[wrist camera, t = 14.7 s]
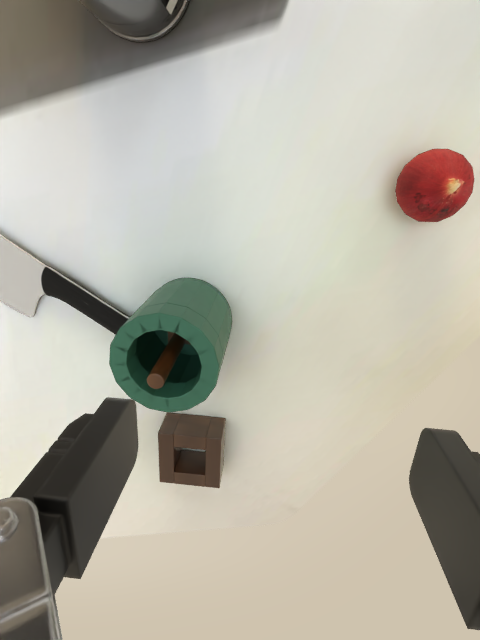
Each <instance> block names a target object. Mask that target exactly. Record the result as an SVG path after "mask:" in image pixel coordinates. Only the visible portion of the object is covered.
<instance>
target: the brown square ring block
mask: <svg viewBox="0 0 480 640" xmlns="http://www.w3.org/2000/svg"><path fill="white" fill-rule="evenodd" d="M225 421H226V419H225V418H218V417H208V416H198V415H187V414H176V413H167V414H166V416H165V419H164V421H163V423H162V425H161V428H160V430H159V432H158V444H159V472H160V482H166V483H175V484H185V485H194V486H203V487H214V488H220V482H221V476H222V471H223V465H224V443H225ZM181 448H191V449H201V450H206V452H199V451H189V450H181Z"/></svg>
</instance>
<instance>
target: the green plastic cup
mask: <svg viewBox="0 0 480 640" xmlns="http://www.w3.org/2000/svg"><path fill="white" fill-rule="evenodd" d="M231 325H232V316H231V310H230V307H229V305H228V303H227V301H226V299H225V298H224V296H223V295H222V294H221V293H220V292H219V291H218V290H217V289H216V288H215V287H213V286H212V285H210V284H209V283H207V282H204V281H202V280H199V279H194V278H180V279H176V280H172V281H170V282H168V283H166V284H165V285H163V286H162V287H161V288H159V289H158V290H156V292H155V293H154V294H153V295H152V296H151V297H150V298H149V299H148V300H147V301H146V302H145V303H144V304H143V305H142V306H141V307H140V308H139V309H138V310H137V311H136V312H135V313H134V314H133V315H132V316H131V317H130V318H129V319H128V320H127V321H126V322H125V323H124V324H123V325H122V326H121V327H120V329H119V330H118V332H117V334H116V336H115V337H114V339H113V341H112V343H111V345H110V362H109V364H110V367H111V370H112V372H113V375H114V378H115V380H116V382H117V384H118V385H119V386H120V387H121V388H122V389H123V390H124V392H125V393H126V394H127V395H128V396H129V397H130V398H131V399H133V400H135V401H137V402H138V403H140V404H142V405H143V406H145V407H147V408H149V409H154V410H159V411H164V412H175V411H183V410H188V409H190V408H192V407H194V406H196V405H198V404H199V403H201V402H203V401H204V400H206V398H207V397H208V396H209V394H210V393H211V392H212V390H213V389H214V388H215V386H216V384H217V380H218V376H219V372H220V369H221V365H222V361H223V358H224V354H225V350H226V347H227V343H228V339H229V335H230V330H231ZM168 332H173V333H176V334H178V335H179V336H181V337H183V338H184V339H186V340H187V341H189V342H190V344H191V345H189V344H184V346H183V348H182V350H181V352H180V354H179V356H178V358H177V360H176V362H175V364H174V366H173V367H172V369H171V371H170V373H169V375H168V377H167V379H166V381H165V383H164V385H163V386H162V387H161V388H159V389H154V388H151V387H150V386H149V385H148V383H147V377H148V375H149V374H150V372H151V370H152V369H153V367H154V366H155V364H156V362H157V361H158V359H159V357H160V356H161V354H162V352H163V351H164V349H165V348H166V346H167V344H168Z"/></svg>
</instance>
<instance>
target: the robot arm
mask: <svg viewBox="0 0 480 640" xmlns="http://www.w3.org/2000/svg"><path fill="white" fill-rule="evenodd" d="M78 1H79V2H80V3H81V4H82V5H83V6H84V7H86V8H87V9H88V10H89V11H90V12H91V13H92V14H93V15H95V16H96V17H97V19H98V20H99V21H100V22H101V23H102V24H103V25H104V26H106V27H107V28H108V29H109V30H110V31H112V32H113V33H114V34H116V35H118V36H120V37H121V38H124V39H126V40H130V41H134V42H149V41H153V40H156V39H159V38H161V37H163V36H164V35H166V34H167V33H169V32H170V31H171V30H172V29H173V28H174V27H175V26H176V25H177V24H178V22H179V21H180V20H181V18H182V17H183V15H184V13H185V11H186V9H187V6H188V4H189V1H190V0H78ZM137 452H138V431H137V415H136V404H135V401H134V400H130V399H119V398H106V399H105V400H104V401H103V402H102V404H101V405H100V406H99V408H98V409H97V411H96V412H95V413H94V414H84V415H82V416H81V417H79V418H78V419H76V420H75V421H73V422H72V423H70V424H69V425H68V426H67V427H66V429H65V430H64V431H63V432H62V434H61V435H60V436H59V437H58V440H57V441H55V442H54V444H53V445H52V446H51V447H50V449H49V451H48V452H46V453H45V455H44V456H43V457H42V458H41V460H40V461H39V462H38V463H37V465H36V466H35V467H34V468H33V470H32V471H31V472H30V473H29V475H28V476H27V477H26V478H25V480H24V481H23V482H22V483H21V485H20V486H19V487H18V488H17V489H16V491H15V492H14V493H13V494H12V496H11V497H10V498H5V499H1V500H0V640H62V634H61V629H60V623H59V617H58V611H57V606H56V600H55V593H56V590H57V589H58V587H59V585H60V583H61V581H62V579H63V577H69V578H77V579H81V577H82V574H83V572H84V570H85V568H86V566H87V564H88V562H89V560H90V558H91V555H92V553H93V551H94V549H95V547H96V545H97V542H98V541H99V539H100V537H101V534H102V532H103V530H104V528H105V526H106V524H107V522H108V520H109V518H110V515H111V513H112V511H113V509H114V507H115V505H116V503H117V501H118V499H119V496H120V494H121V492H122V490H123V488H124V486H125V484H126V482H127V480H128V477H129V475H130V473H131V471H132V469H133V467H134V464H135V461H136V458H137ZM409 484H410V491H411V495H412V498H413V500H414V502H415V505H416V507H417V509H418V512H419V514H420V517H421V519H422V521H423V524H424V526H425V528H426V531H427V533H428V536H429V538H430V540H431V543H432V545H433V547H434V550H435V552H436V555H437V557H438V559H439V562H440V564H441V566H442V569H443V571H444V574H445V576H446V578H447V581H448V583H449V585H450V588H451V590H452V593H453V595H454V597H455V600H456V602H457V604H458V607H459V609H460V612H461V614H462V616H463V619H464V621H465V623H466V626H467V628H468V629H475V630H480V454H479V453H478V452H471V451H470V449H469V448H468V446H467V445H466V444H465V442H464V441H463V439H462V438H461V436H460V435H459V434H458V433H457V432H456V431H453V430H442V429H431V428H425V429H423V431H422V432H421V435H420V438H419V441H418V445H417V449H416V452H415V456H414V459H413V463H412V466H411V470H410V475H409Z"/></svg>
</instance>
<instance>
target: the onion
mask: <svg viewBox="0 0 480 640" xmlns="http://www.w3.org/2000/svg"><path fill="white" fill-rule="evenodd" d="M473 184H474V175H473V168H472V166H471V164H470V163H469V162H468V161H467V160H466V158H465V157H464V156H463V155H461V154H459V153H457V152H454V151H452V150H449V149H432V150H429V151H426V152H424V153H421V154H418V155H417V156H416V157H415V158H413V159H412V160H411V161H410V162H409V163H408V164H406V165H405V166H404V168H403V170H402V172H401V173H400V175H399V177H398V179H397V184H396V190H395V192H396V197H397V203H398V204H399V206H400V207H401V208H402V210H403V211H404V213H405V214H406V215H408V216H410V217H411V218H413V219H415V220H417V221H419V222H438V221H441V220H443V219H445V218H448V217H450V216H452V215H454V214H455V213H456V212H457V211H458V210H459V209H461V208H462V207H463V206H464V205H465V204H466V202H467V200H468V198H469V197H470V195H471V193H472V190H473Z"/></svg>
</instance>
